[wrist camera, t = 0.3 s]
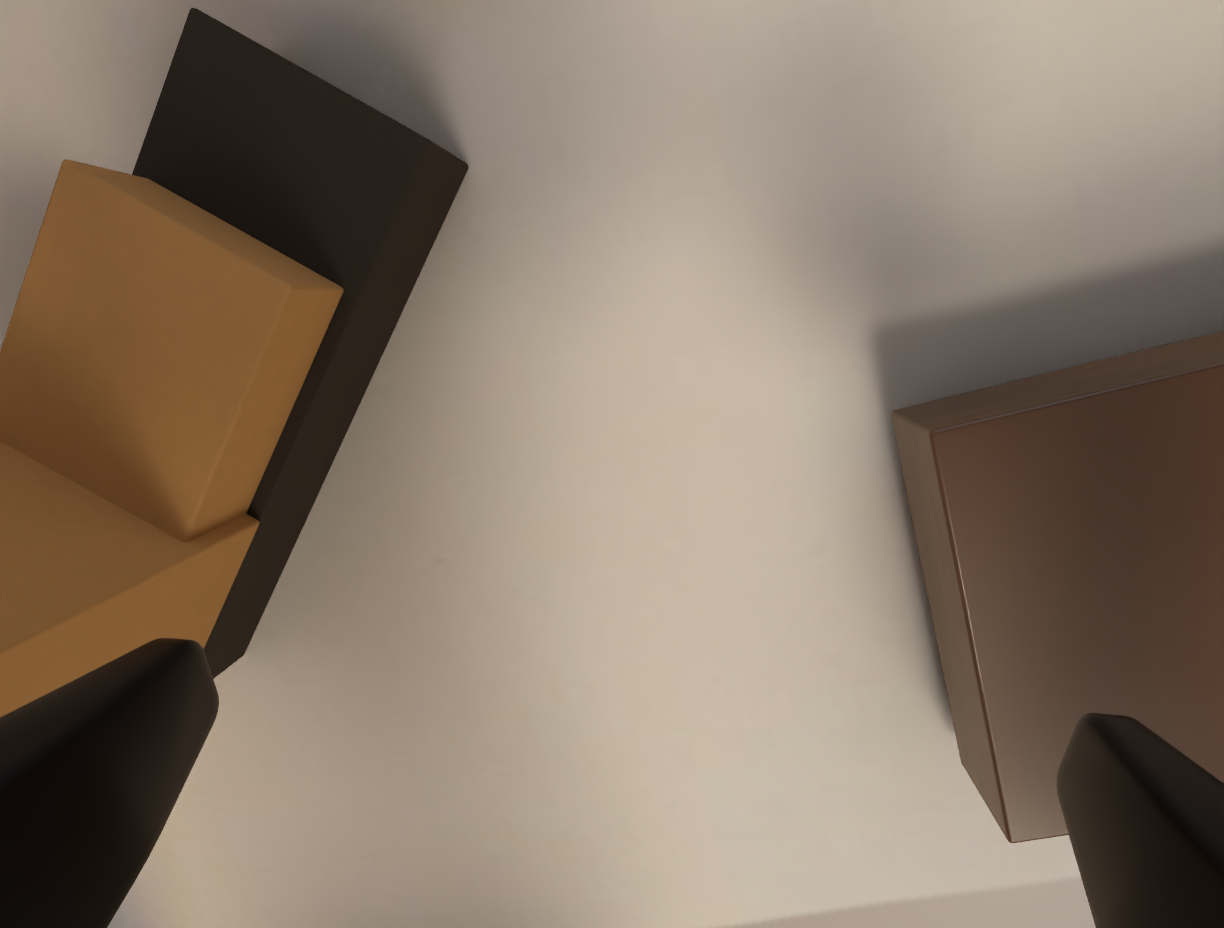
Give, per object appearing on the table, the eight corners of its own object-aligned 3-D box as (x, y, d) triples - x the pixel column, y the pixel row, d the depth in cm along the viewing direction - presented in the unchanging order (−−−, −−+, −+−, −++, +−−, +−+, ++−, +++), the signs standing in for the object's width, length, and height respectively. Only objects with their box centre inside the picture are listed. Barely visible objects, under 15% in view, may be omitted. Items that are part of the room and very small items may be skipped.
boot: (243, 656, 23) (-412, 1170, 9) (71, 560, 23) (-843, 938, 9) (470, 166, 19) (-66, -175, 6) (266, 50, 19) (-780, -577, 6)
